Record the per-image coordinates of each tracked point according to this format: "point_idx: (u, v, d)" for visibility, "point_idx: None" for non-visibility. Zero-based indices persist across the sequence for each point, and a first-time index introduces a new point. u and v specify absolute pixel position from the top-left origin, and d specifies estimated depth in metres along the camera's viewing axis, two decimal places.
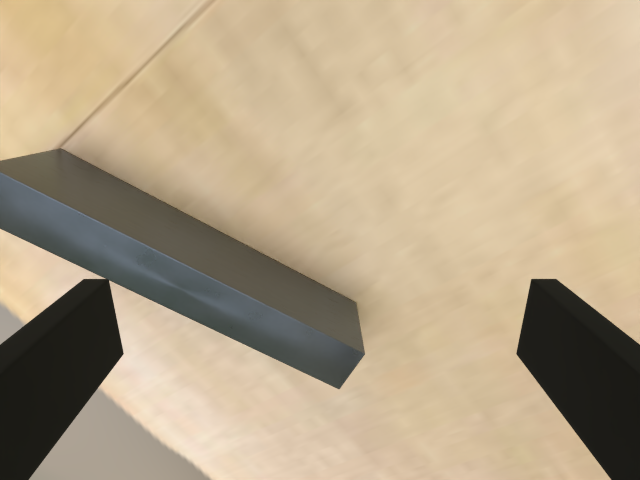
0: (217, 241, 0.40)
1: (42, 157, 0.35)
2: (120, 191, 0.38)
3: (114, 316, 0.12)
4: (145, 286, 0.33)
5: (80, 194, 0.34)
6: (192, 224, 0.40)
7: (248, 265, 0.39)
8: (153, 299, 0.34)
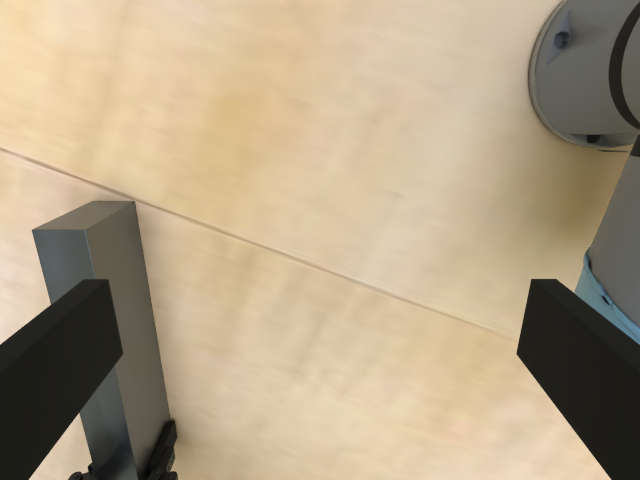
0: (149, 354, 0.46)
1: (119, 217, 0.39)
2: (135, 274, 0.42)
3: (114, 316, 0.12)
4: None
5: (113, 280, 0.38)
6: (148, 328, 0.46)
7: (148, 390, 0.46)
8: None
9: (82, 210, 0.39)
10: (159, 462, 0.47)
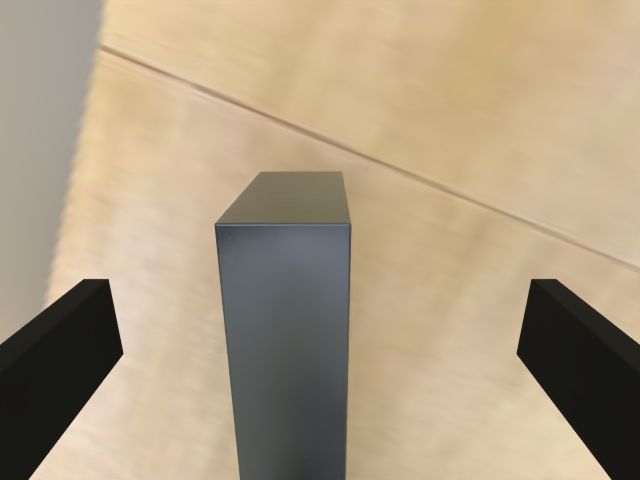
0: None
1: None
2: None
3: (114, 316, 0.12)
4: None
5: None
6: None
7: None
8: None
9: (269, 185, 0.19)
10: None
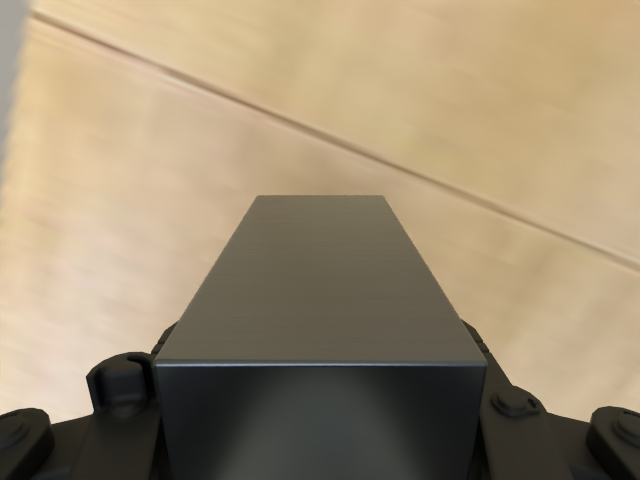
0: None
1: None
2: None
3: None
4: None
5: None
6: None
7: None
8: None
9: (274, 226, 0.11)
10: None
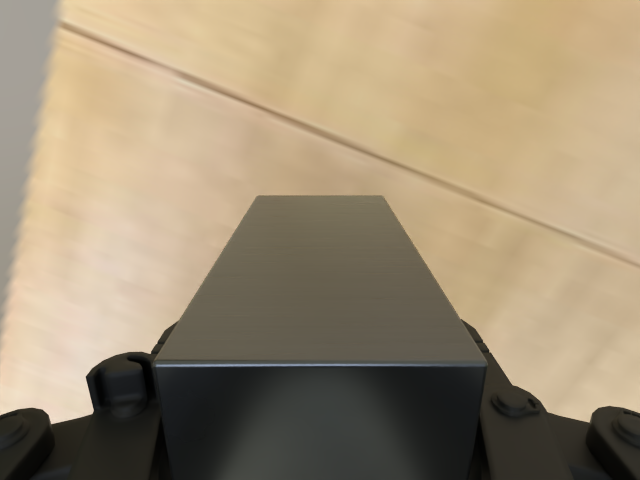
0: None
1: None
2: None
3: None
4: None
5: None
6: None
7: None
8: None
9: (274, 226, 0.11)
10: None
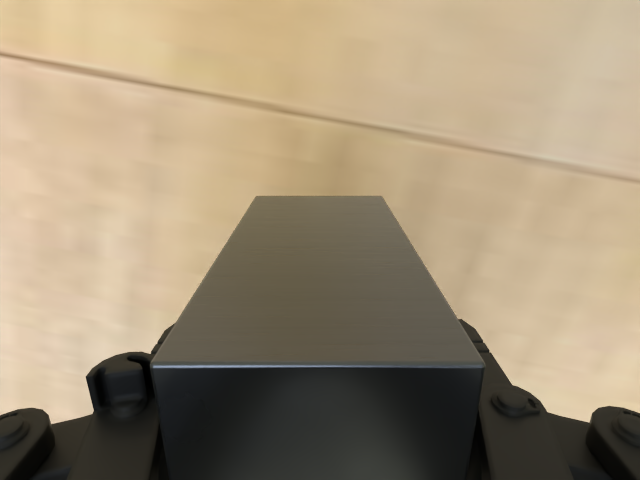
0: None
1: None
2: None
3: None
4: None
5: None
6: None
7: None
8: None
9: (272, 227, 0.11)
10: None
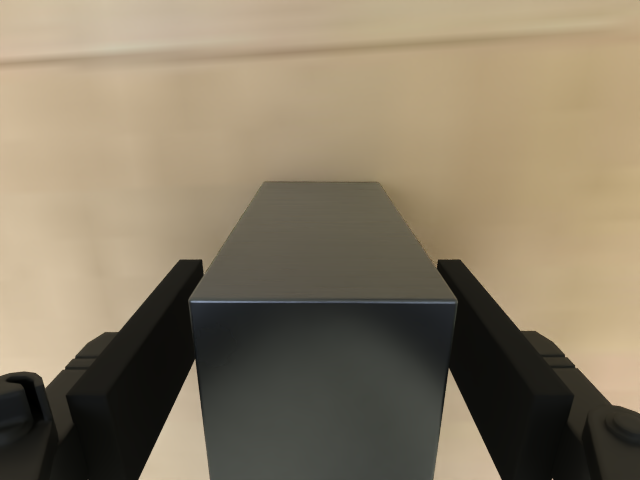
0: None
1: None
2: None
3: None
4: None
5: None
6: None
7: None
8: None
9: (280, 205, 0.12)
10: None
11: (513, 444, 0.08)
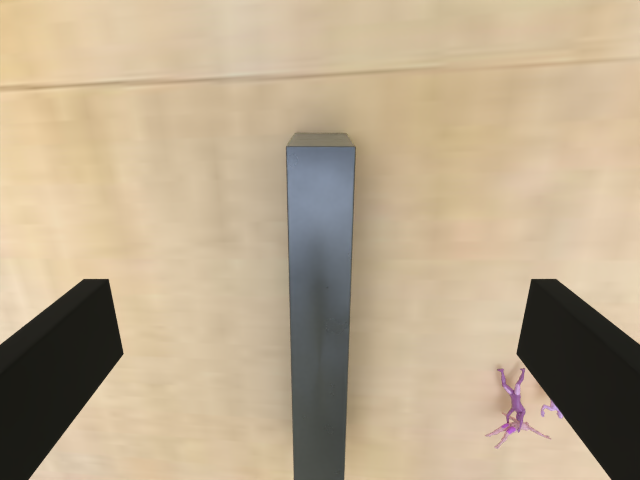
0: None
1: None
2: None
3: (114, 316, 0.12)
4: (303, 336, 0.31)
5: None
6: None
7: None
8: (293, 347, 0.31)
9: (304, 137, 0.31)
10: None
11: None
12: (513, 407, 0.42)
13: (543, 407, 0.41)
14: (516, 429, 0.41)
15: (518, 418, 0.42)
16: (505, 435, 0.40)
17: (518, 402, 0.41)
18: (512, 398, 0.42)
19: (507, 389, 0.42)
